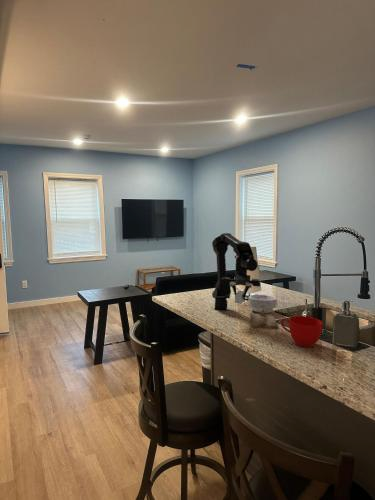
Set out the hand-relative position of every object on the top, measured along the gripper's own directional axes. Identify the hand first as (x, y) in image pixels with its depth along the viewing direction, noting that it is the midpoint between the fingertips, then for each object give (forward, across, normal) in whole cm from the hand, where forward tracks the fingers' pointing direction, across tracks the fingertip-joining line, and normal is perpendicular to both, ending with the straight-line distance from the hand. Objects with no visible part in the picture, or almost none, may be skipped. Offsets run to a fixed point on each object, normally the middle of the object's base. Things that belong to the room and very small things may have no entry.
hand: (239, 298), depth 169 cm
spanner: (+1, 0, 0) cm, 1 cm away
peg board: (+11, +12, 0) cm, 16 cm away
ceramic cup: (+11, +25, -26) cm, 38 cm away
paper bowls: (+11, +13, +20) cm, 26 cm away
